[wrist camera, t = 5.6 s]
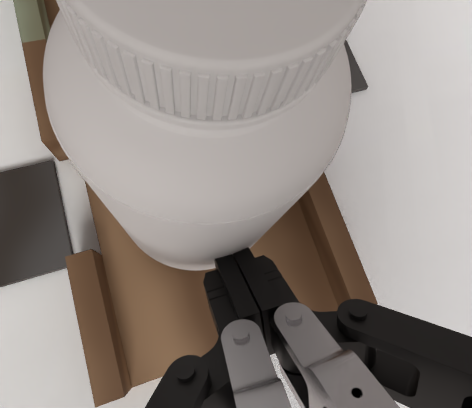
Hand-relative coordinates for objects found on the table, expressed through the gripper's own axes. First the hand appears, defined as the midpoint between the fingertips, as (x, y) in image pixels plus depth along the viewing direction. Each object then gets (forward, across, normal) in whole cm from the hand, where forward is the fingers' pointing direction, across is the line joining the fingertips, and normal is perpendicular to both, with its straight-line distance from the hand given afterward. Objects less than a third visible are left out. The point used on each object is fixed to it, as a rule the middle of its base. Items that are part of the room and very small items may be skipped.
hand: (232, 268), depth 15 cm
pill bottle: (+6, 0, 0) cm, 6 cm away
